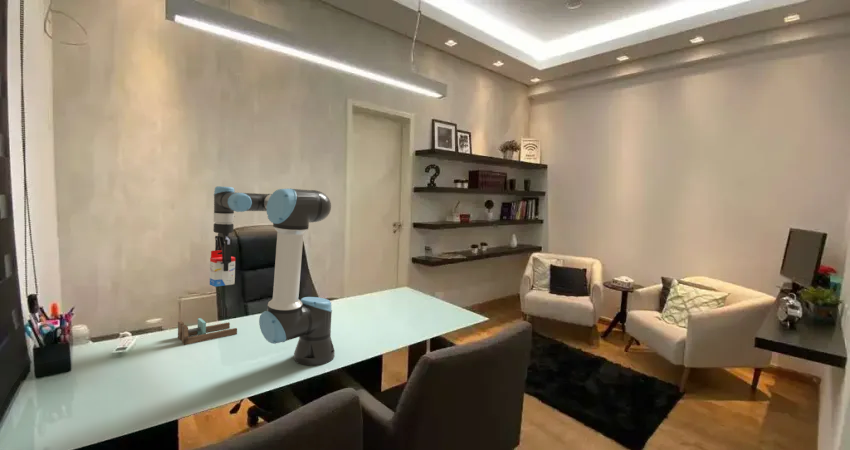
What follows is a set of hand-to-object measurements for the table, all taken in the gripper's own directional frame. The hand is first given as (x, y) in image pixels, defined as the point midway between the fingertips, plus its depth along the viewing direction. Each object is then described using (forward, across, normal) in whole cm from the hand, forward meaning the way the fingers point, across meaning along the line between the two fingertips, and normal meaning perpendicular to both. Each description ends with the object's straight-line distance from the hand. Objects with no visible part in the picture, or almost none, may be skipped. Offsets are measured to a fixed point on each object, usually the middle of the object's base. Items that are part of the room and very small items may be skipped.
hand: (222, 276), depth 164 cm
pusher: (+25, +2, +10) cm, 27 cm away
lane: (+26, +2, +4) cm, 26 cm away
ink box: (+3, 0, 0) cm, 3 cm away
